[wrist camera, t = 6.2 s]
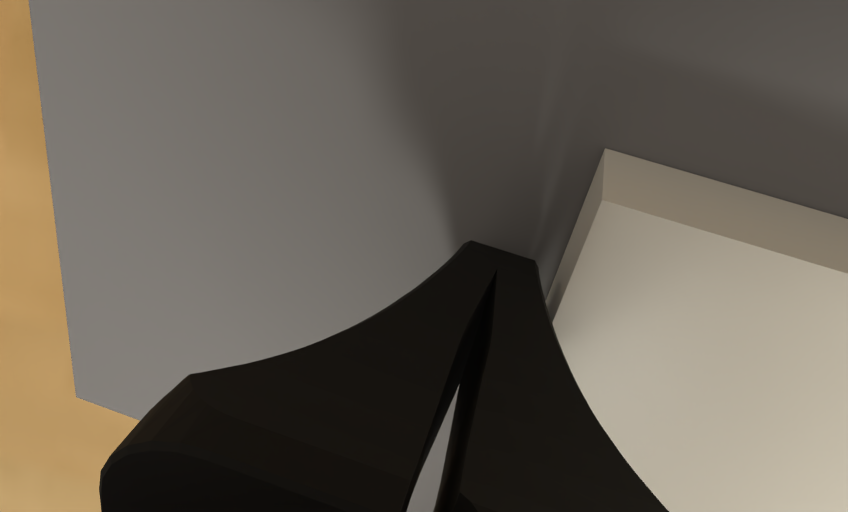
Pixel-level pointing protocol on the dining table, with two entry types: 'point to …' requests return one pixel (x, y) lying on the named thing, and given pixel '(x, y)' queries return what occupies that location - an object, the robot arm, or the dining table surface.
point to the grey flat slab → (385, 153)
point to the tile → (710, 338)
